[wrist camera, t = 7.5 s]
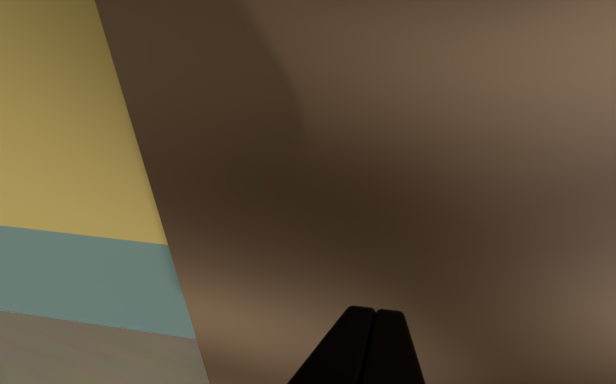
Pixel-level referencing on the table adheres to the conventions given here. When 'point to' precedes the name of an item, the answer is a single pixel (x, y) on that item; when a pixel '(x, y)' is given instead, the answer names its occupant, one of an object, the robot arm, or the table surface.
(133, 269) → the mat
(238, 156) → the brown wooden block
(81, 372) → the table surface
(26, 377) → the table surface
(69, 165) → the yellow block
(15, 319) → the table surface
